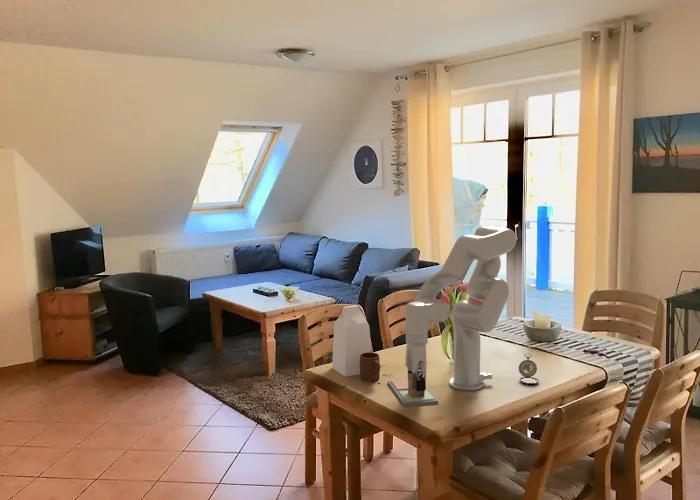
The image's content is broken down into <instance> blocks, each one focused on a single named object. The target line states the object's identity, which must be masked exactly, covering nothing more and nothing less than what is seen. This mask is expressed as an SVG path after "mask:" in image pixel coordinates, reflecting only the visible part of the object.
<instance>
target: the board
mask: <svg viewBox="0 0 700 500" xmlns="http://www.w3.org/2000/svg"><path fill="white" fill-rule="evenodd" d="M387 385H388V387H390V389H391V390H392V391H393V393H394V394H395V397H396V398H398V400H399V402H401V404H402V405H403V406H404V407H414V406H424V405H425V406H427V405H435V404H439V400H438V399H437V398H436V396H435V395H434V394H433V393H432V392H431V391H430V390H429V388H428V387H426V390H425V394H424V397H416V398H412V397H411V396H410V395H409V393H408V378H405V379H403V378H402V379H393V380H387Z"/></svg>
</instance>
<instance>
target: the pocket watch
mask: <svg viewBox="0 0 700 500" xmlns="http://www.w3.org/2000/svg"><path fill="white" fill-rule="evenodd" d="M526 355H527V356H526ZM529 355H530V356H529ZM524 357H525V358H526V359H523V360H522V361H521V362H520V363H519V366H518V373H519V374H521V376H523V377H520V378H519V382H520V381H521V379H523V378H532V379H535V380H537V381H538V382H536V383H526V382H523V381H521V382H520V383H522V384H524V383H525V384H524V385H528V384H535V385H537V383H539V381H540V380H539V379H538V378H535V377H534V376H535V375H536V373H537V371H538V367H537V364H536V362H534V361H533V360H530V358H531V357H532V354H531V353H527V352H526V353H525V354H524Z"/></svg>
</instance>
